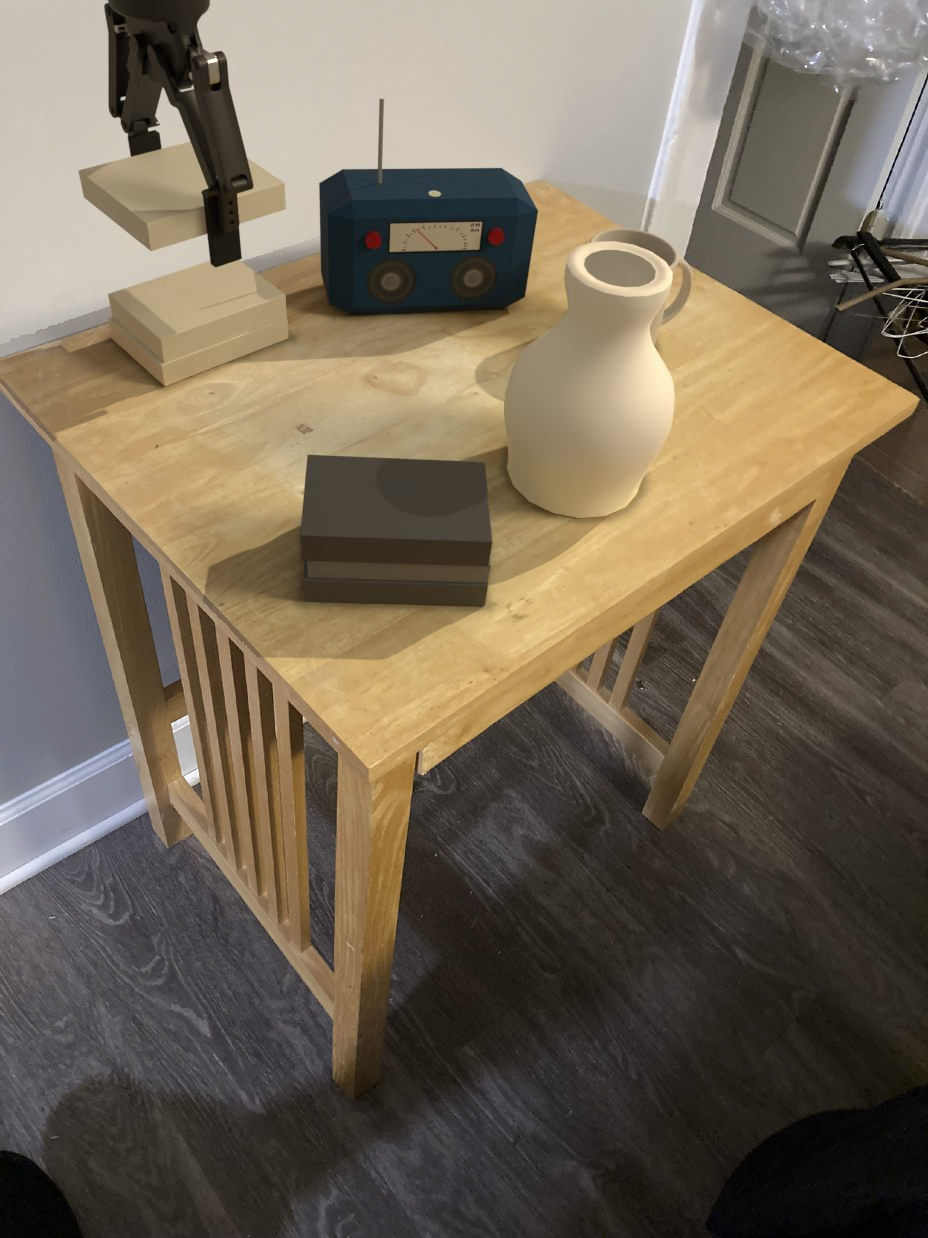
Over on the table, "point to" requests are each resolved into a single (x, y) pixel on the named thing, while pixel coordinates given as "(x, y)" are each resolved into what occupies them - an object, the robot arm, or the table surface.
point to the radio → (424, 238)
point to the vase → (593, 387)
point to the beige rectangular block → (197, 319)
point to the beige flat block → (169, 195)
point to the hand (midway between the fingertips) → (189, 233)
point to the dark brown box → (395, 531)
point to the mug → (665, 253)
